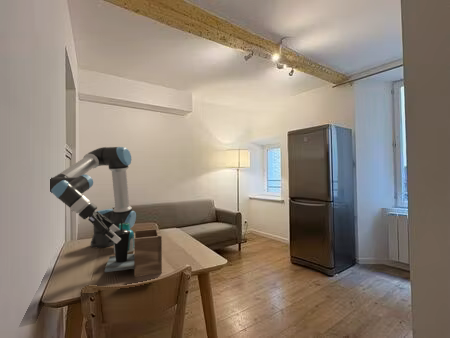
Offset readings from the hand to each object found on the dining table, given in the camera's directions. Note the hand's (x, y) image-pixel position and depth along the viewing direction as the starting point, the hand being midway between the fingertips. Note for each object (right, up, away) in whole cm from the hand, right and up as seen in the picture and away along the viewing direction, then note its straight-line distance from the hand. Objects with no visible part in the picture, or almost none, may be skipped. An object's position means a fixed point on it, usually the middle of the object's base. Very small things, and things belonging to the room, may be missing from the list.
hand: (120, 237), depth 117 cm
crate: (+6, -16, +2) cm, 17 cm away
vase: (-5, -17, +18) cm, 25 cm away
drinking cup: (+1, -11, 0) cm, 11 cm away
